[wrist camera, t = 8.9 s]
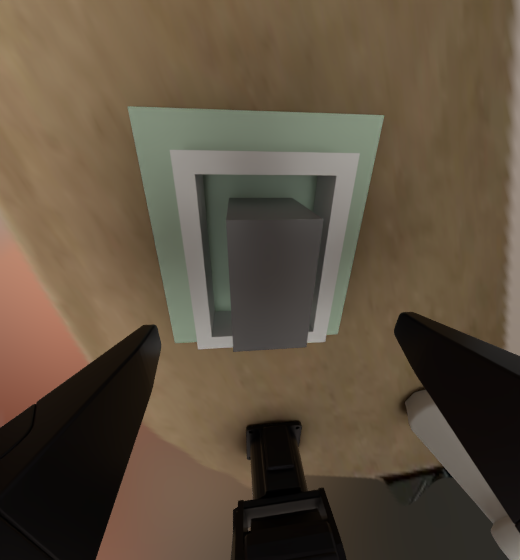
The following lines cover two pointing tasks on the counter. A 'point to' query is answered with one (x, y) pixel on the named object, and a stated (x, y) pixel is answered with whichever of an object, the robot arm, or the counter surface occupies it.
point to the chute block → (271, 271)
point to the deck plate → (249, 184)
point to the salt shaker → (460, 467)
